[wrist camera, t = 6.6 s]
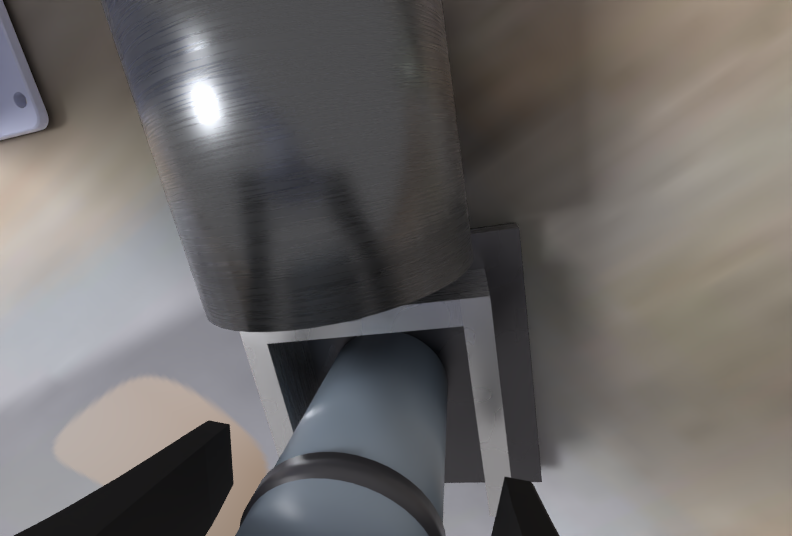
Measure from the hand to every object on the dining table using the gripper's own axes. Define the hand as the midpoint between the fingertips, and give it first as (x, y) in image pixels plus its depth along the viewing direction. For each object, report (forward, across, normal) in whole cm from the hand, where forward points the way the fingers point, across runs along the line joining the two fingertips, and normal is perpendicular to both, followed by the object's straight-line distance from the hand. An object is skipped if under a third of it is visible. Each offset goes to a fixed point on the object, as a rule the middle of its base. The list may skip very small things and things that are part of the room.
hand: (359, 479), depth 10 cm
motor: (+6, +1, -4) cm, 7 cm away
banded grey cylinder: (+5, 0, 0) cm, 5 cm away
